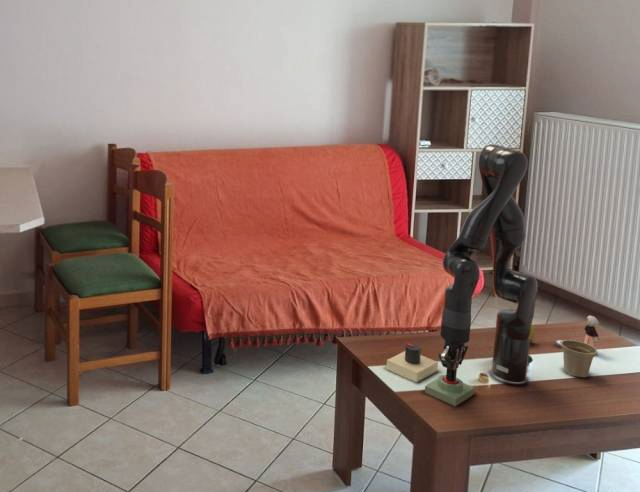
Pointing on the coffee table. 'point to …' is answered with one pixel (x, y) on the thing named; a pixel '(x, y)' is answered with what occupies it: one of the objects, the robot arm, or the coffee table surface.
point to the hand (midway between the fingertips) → (450, 380)
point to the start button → (450, 381)
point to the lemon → (532, 333)
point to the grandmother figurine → (591, 331)
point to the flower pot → (577, 357)
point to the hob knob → (412, 353)
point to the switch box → (449, 390)
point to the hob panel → (412, 367)
